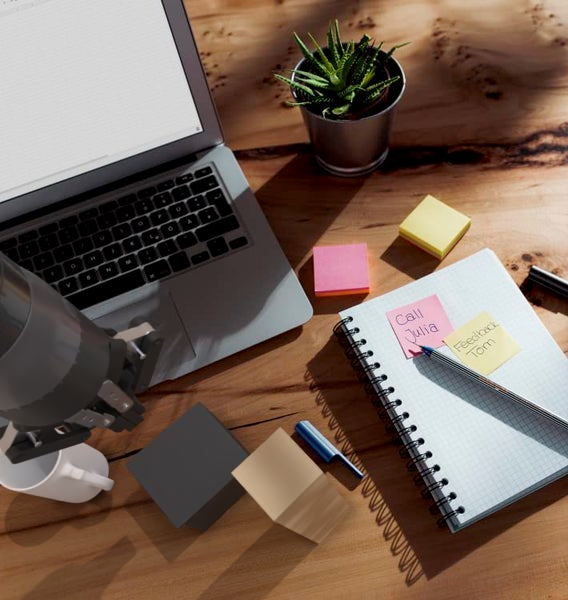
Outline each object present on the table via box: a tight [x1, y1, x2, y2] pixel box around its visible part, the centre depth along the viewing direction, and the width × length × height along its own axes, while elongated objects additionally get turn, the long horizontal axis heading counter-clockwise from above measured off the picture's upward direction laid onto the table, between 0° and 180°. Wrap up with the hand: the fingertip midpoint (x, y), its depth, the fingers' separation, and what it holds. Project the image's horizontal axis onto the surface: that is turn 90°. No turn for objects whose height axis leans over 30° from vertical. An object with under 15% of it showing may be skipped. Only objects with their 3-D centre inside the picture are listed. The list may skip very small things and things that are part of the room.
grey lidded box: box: [184, 402, 252, 532], centre depth 73 cm, size 9×9×7 cm
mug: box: [0, 428, 115, 504], centre depth 70 cm, size 10×7×12 cm, turn 71°
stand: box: [231, 426, 352, 545], centre depth 62 cm, size 5×5×26 cm
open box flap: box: [124, 401, 249, 531], centre depth 69 cm, size 10×9×1 cm
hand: (130, 417), depth 53 cm, fingers closed
